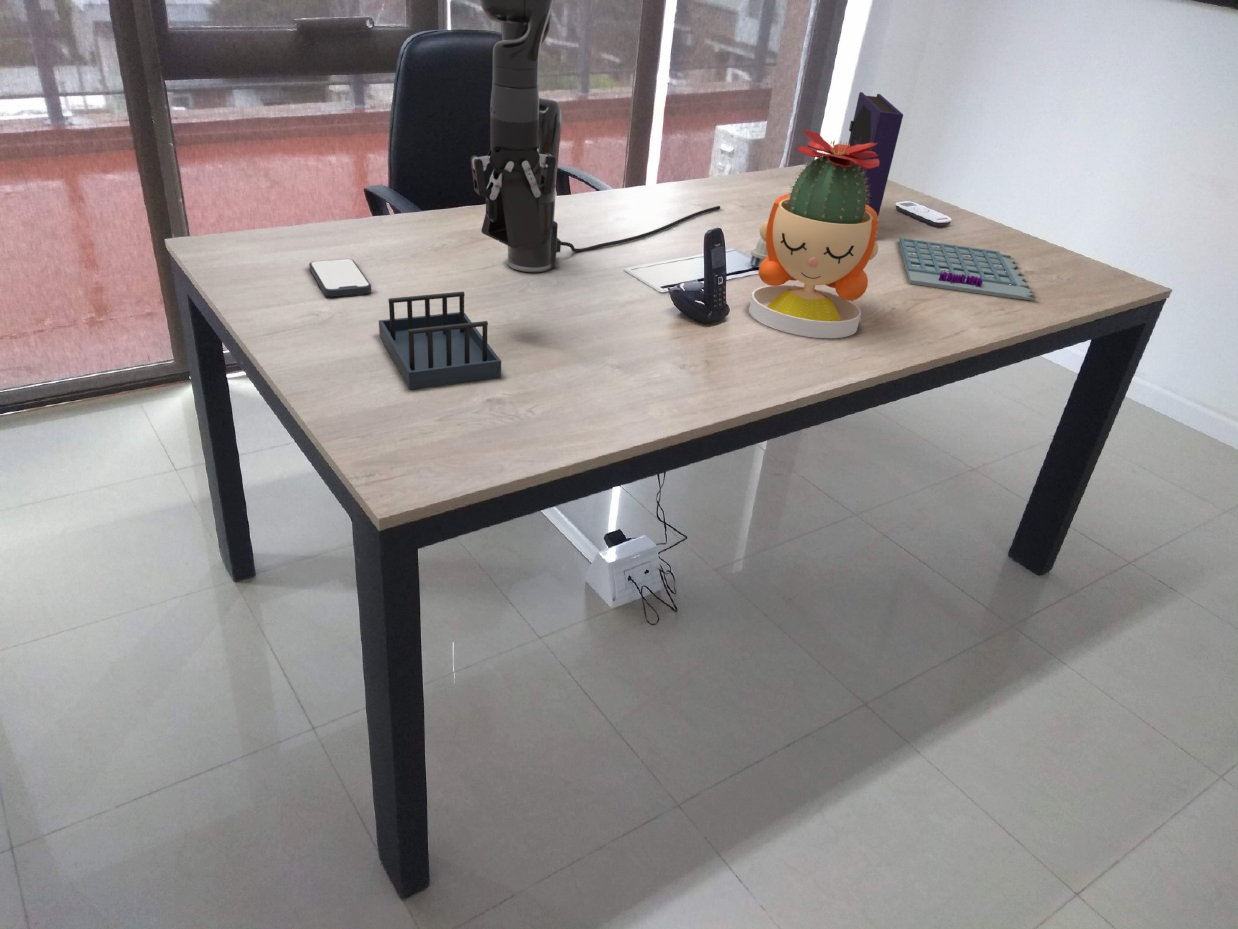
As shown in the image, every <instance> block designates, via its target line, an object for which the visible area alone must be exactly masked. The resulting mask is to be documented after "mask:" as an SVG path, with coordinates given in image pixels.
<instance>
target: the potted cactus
mask: <svg viewBox="0 0 1238 929" xmlns="http://www.w3.org/2000/svg"><path fill="white" fill-rule="evenodd" d="M802 133H804V135H805V137H806V138H808V139H809V140H810V141H809V142H808V143H806V144H807V147H806V146H804V145H803V146H802V145H800V146H798V147H797V149H796V150H797V151H798V152H800V153H802V154H803V155H806V156H807V157H811V158H810V159H809V160H806V161H805V162H804V163H803V164H804V165H803V167H801V171H800V170H797V172H796V173H795V175H794V176H795V178H794V179H793V181H791V182H792V183H794V186H793V185H792V184H789V187H790V188H789V191H791V192H788V193H785V194H783V195H781V196H779V197H778V198H776V199H775V200H774V202H773V205H772V207H771V211H770V212H769V215H768V216H769V217H768V220H767V221H764V222H763V223H762V224H761V225H760V228H759V235H760V236H759V237H760V238H762V239H763V240H764V241H766V248H767V253H768V257H766V258H765V259H764V260H763V261H762V263H761V264H760V267H758V275H759V279H760V280H761V282H762V283H764V284H765V286H761V287H760V286H759V287H758V288H755V289H754V290H753V291H752V292H751V297H750V302H749V308H748V312H749V315H750V316H751V317H752V318H753V319H754V320H755V321H757V322H759V323H760V324H762V325H765V326H766V327H769V328H772V329H775V330H777V331H780V332H783V333H786V334H790V335H794V336H795V335H796V336H801V337H805V338H814V339H815V338H817V339H841V338H847V337H850V336H852V335H854V334H855V333H857V331H858V327H859V323H860V321H861V320H860V319H861V315H862V310H861V309H860V307H859V306H858V305H857V304H855V303H854V302H852V301H856V300H858V299H859V298H861V297H862V296H864V294H865V292H866V291H867V288H868V286H869V279H868V276H867V273H866V272H865V270H864V269H865V268H866V267H867V265H868V263H869V261H870V260H873V259H874V258H875V257H876V256H877V255H878V252H879V244H878V242H877V241H876V238H877V234H878V227H879V226H878V225H879V216H878V215H877V213H876V212H875V211H874V210H873V209H872V208H871V207H870V206H868V205H866V203H867V201H869V200H867V198H868V197H867V198H866V196H868V195H870V194H869V193H868V194H866V192H867V191H866V188H867V187H868V186H867V185H865V182H866V181H865V180H866V179H868V178H866V179H864V178H863V175H862V174H864V172H863V171H862V173H861V171H860V170H859V169H861V168H860V167H859V166H861V167H863V168H868V169H871V168H875V167H879V159H870V160H862V159H866V158H872V157H877V156H878V155H876V152H871V151H868V150H870V149H872V148H873V147H875V146H876V145H877V143H867V144H863V145H855V146H851V147H850V144H849V145H848V141H846V142H845V141H843V143H842V140H840V141H839V143H836V144H835V142H836V140H831V141H830V143H829V142H827V141H826V139H824V138H823V137H822V136H821V134H820V133H819V132H815V131H811V130H808V129H804V130H803V131H802ZM809 161H810V162H809ZM855 164H858V165H859V166H858V167H857V166H856V165H855ZM867 183H868V181H867ZM866 186H867V187H866ZM869 191H870V190H869ZM869 197H871V195H870V196H869ZM866 200H867V201H866ZM868 204H869V203H868ZM789 281H792V282H793V281H794V282H795V281H798V282H800V283H802V284H804V285H803V286H797V285H787V284H786V283H787V282H789ZM785 284H786V285H785ZM824 285H825V286H827V287H828V288H832V289H834V290H835V292H836V294H837V295H836V294H834V293H831V292H829V291H824V290H820V289H816V286H824Z"/></svg>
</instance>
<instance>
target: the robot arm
mask: <svg viewBox="0 0 1238 929" xmlns="http://www.w3.org/2000/svg"><path fill="white" fill-rule="evenodd" d="M479 2H480V5H481V9H482V11H483V13H484V14H485V16H486V17H487V18H488V19H489V20H490V21H492V22H496V23H500V33H501V40H499V41H497V42H495V44H494V45H493V48H492V78H491V79H492V82H491V84H492V85H491V91H490V105H489V112H490V123H489V124H490V127H489V128H490V131H489V132H490V133H489V135H490V139H489V142H490V145H489V146H490V148H489V151H488V153H487V155H481V156H477V155H471V157H470V165H471V175H472V182H473V189H474V192H475V193H476V194H478V196H480V197H481V198H485V215H487V217H488V218H489V219H490V220H491V221H492V222H497V211H498V200H497V199H496V198H497V196H498V194H499V192H500V188H501V187H502V183H503V181H504V177H503V173H502V172H501V169H502V168H503V170H504V171H507V172H509V173H510V172H511V171H512V169H516V170H519V171H521V172H522V173H523V174H524V178H527V182H528V184H529V187H530V189H531V191H532V193H533V195H534V196H535V199H536V205H537V210H538V216H539V222H540V227H541V233H542V238H543V241H542V242H539V243H535V244H531V245H527V246H523V247H519V248H512V247H510V246H508V245H507V266H508V267H510V268H511V269H513V270H515V271H519V272H524V273H541V272H547V271H549V270H550V269H556V264H557V253H561V250H562V249H561V248H562V247H561V246H565V247H569V248H570V250H571V251H572V252H573V253H584V252H588V251H593V250H597V249H600V248H605V247H611V246H616V245H619V244H620V245H621V244H625V243H629V242H632V241H636V240H640V239H643V238H646V237H649V236H652V235H655V234H657V233H660V232H663V231H665V230H667V229H670V228H672V227H674V226H676V225H678V224H680V223H683V222H685V221H687V220H690V219H692V218H695V217H697V216H701V215H703V214H707V213H709V212H713V211H717V210H720V209H721V206H720V205H717V206H712V207H710V208H706V209H705V208H704V209H703V210H700V211H696V212H693V213H691V214H689V215H687V216H684V217H682V218H679V219H677V220H675V221H673V222H671V223H668V224H667V225H663V226H661V227H658V228H656V229H653V230H651V231H648V232H644V233H641V234H639V235H634V236H631V237H627V238H622V239H618V240H613V241H608V242H603V243H597V244H595V245H591V246H588V247H582V248H575V246H574V244H572V243H571V242H567V241H562V240H561V239H560V238H559V237H558V228H559V227H558V226H559V224H558V222H557V221H556V220H555V214H556V211H555V209H556V191H557V190H556V188H557V187H556V186H557V174H558V168H559V157H560V156H559V154H560V144H561V135H562V123H563V114H562V108H561V106H560V104H559V102H558V101H556V100H553V99H549V98H541V97H540V95H539V77H540V76H539V75H540V74H539V71H540V57H541V49H542V47H543V45H544V43H545V42H546V39H547V38H548V36H549V34H550V31H551V29H552V23H553V14H552V13H553V12H552V10H553V9H552V8H553V5H554V0H480V1H479ZM488 164H490V166H491V167H492V169H493V170H492V172H491V174H490V177H489V182H488V184H487V186H486V180H485V178H486V177H485V171H486V170H487V168H488ZM494 169H495V170H496V173H497V174H498V176H499V177H498V179H493V171H494ZM532 171H533V172H532ZM493 184H494V185H493Z"/></svg>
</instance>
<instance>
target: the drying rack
mask: <svg viewBox="0 0 1238 929" xmlns="http://www.w3.org/2000/svg"><path fill="white" fill-rule="evenodd" d="M465 294H466V293H465V291H454V292H444V293H432V294H421V295H412V296H401V297H389V298H388V299H387V300H388V310H389V311H388V312H389V319H379V320H378V331H379V332H378V335H379V338H380V340H381V341H382V343H383V345H384V347H385V348H386V351H387V353H388V354H389V355H390V357H391V359H392V361H393V363H394V364H395V367H396V368H397V370H398V372H399V373H400V375H401V377H402V379H403V380H404V383H405V384H406V385H407V388H408V389H409V390H416V389H423V388H424V389H425V388H432V387H439V386H444V385H445V386H446V385H454V384H460V383H468V382H476V381H483V380H491V379H498V378H501V377H502V360H501V359H500V357H499V356H498V355H497V353H496V352H495V351H494V349H493V348H492V347H491V346H490V344H489V343H488V329H489V328H488V326H489V322H488V321H487V320H482V321H472V320H470V318H469V316H468V315H467V314H466V313H465ZM449 298H450V299H451V298H459V299H458V300H459V303H458V304H459V311H456V312H448V299H449ZM430 300H441V304H442V305H441V307H442V308H441V309H442V313H437V314H431V303H430ZM419 301H424V315H418V316H413V302H419ZM399 303H406V308H407V309H406V310H407V312H406V313H407V317H399V318H396V317H395V304H399ZM479 327H480V328H481V330H482V333H481V332H480V331H479V329H478V328H479Z"/></svg>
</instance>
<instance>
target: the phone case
mask: <svg viewBox="0 0 1238 929" xmlns="http://www.w3.org/2000/svg"><path fill="white" fill-rule="evenodd" d="M308 266H309V270H310V272H311V274H312V275H313V277H314V279H315V280H316V282H317V284H318V286H319V287H320V289H321V291H322V293H323V294H324V296H326V297H339V296H352V295H361V294H369V293H371V291H372V285H371V283H370V281H369V280H368V279H367V277H366V276H365V274H364V273H363V272H362V270H361V269H360V267H359V266H358V264H357V263H356V261H355V260H353V259H351V258H340V259H339V258H337V259H328V260H317V261H316V260H315V261H311V262H309V264H308Z"/></svg>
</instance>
